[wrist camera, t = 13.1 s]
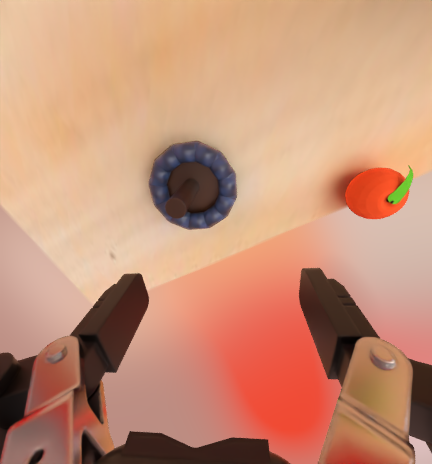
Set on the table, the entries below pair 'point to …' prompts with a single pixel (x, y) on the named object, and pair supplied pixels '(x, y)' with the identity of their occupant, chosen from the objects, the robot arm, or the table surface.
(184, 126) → the table surface
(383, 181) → the clementine
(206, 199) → the peg stand
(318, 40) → the table surface
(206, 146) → the ring
